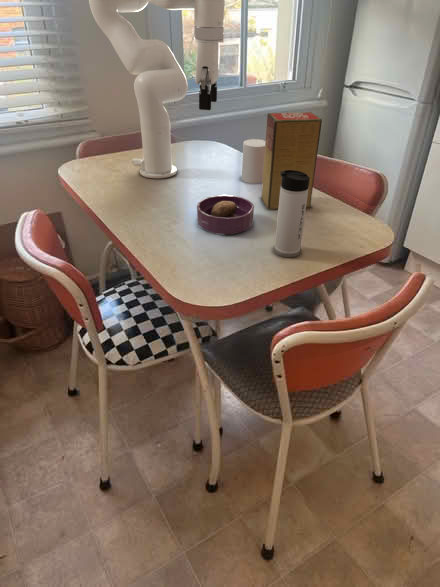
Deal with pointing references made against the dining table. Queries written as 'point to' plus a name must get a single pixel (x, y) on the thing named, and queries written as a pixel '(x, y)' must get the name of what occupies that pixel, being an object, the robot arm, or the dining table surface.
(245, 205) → the bowl
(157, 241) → the dining table surface
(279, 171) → the food packaging
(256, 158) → the white cylinder
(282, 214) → the travel mug
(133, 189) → the dining table surface
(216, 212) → the mushroom
